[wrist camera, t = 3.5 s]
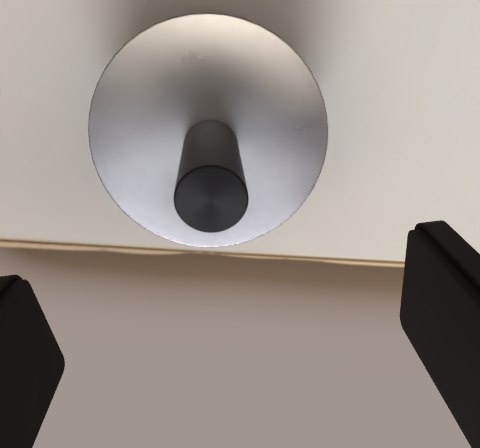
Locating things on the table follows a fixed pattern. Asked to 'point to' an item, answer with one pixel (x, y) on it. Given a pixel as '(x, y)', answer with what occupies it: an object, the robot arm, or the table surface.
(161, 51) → the lid
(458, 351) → the robot arm
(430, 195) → the table surface
